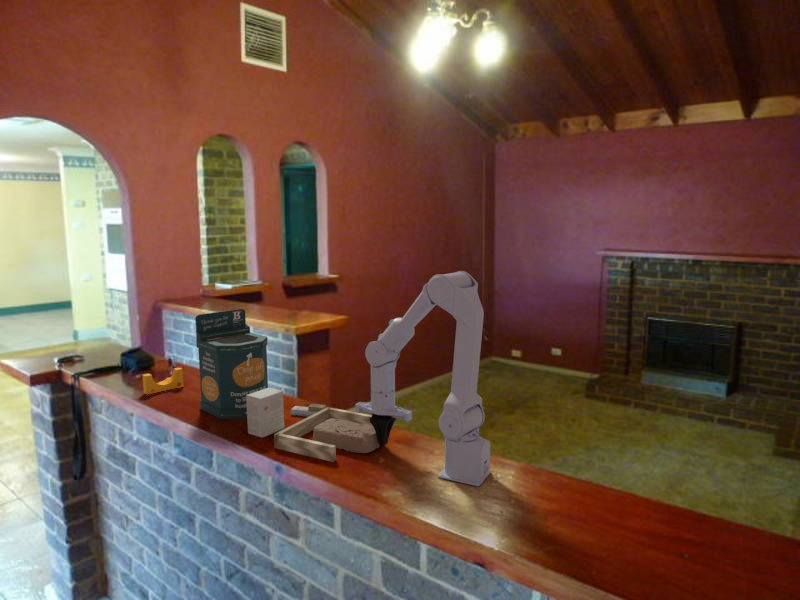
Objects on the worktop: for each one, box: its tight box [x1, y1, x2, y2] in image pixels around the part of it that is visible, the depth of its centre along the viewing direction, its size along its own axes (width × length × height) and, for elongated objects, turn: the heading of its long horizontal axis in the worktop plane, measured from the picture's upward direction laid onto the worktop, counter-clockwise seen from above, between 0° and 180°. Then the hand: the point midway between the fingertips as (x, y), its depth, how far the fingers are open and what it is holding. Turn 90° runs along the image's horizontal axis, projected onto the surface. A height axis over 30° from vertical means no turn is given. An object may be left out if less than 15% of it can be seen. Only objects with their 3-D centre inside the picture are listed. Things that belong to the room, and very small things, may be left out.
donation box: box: [194, 308, 269, 420], centre depth 166 cm, size 16×16×28 cm
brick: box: [312, 418, 380, 454], centre depth 141 cm, size 17×8×5 cm, turn 61°
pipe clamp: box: [141, 367, 185, 396], centre depth 186 cm, size 12×4×6 cm, turn 136°
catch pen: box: [273, 406, 372, 463], centre depth 145 cm, size 17×22×4 cm
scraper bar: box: [290, 403, 327, 418], centre depth 162 cm, size 10×3×3 cm, turn 74°
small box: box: [246, 387, 285, 439], centre depth 150 cm, size 8×6×10 cm
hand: (383, 444), depth 138 cm, fingers closed
